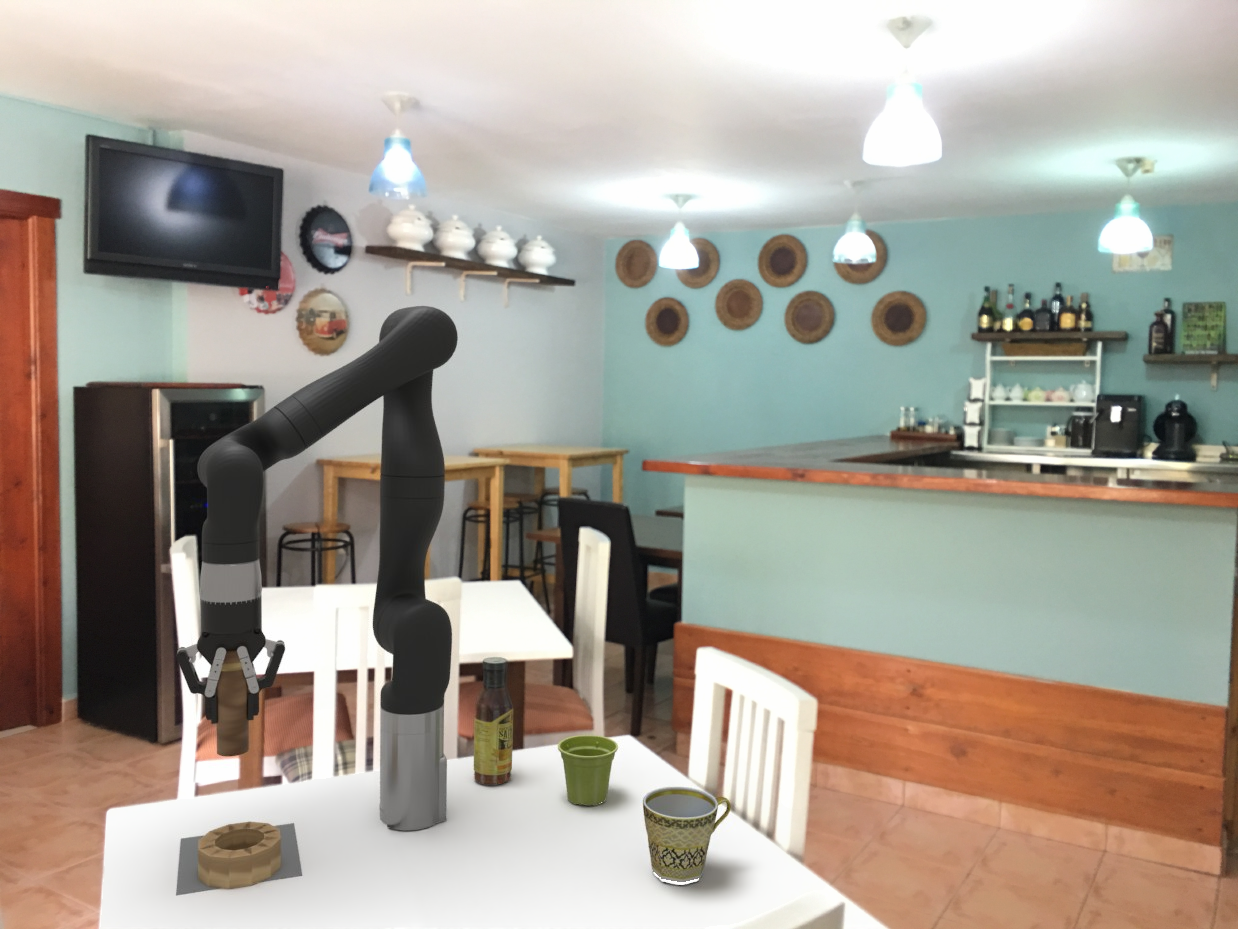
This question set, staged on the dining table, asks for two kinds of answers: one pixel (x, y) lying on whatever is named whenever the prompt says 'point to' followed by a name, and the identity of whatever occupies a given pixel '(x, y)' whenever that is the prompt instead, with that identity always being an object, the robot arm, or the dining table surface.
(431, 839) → the dining table surface
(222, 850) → the tan faceted ring
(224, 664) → the banded wooden cylinder
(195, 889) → the mat
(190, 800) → the dining table surface
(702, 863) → the ceramic cup
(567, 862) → the dining table surface
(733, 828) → the dining table surface
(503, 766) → the sauce bottle
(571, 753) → the plant pot
